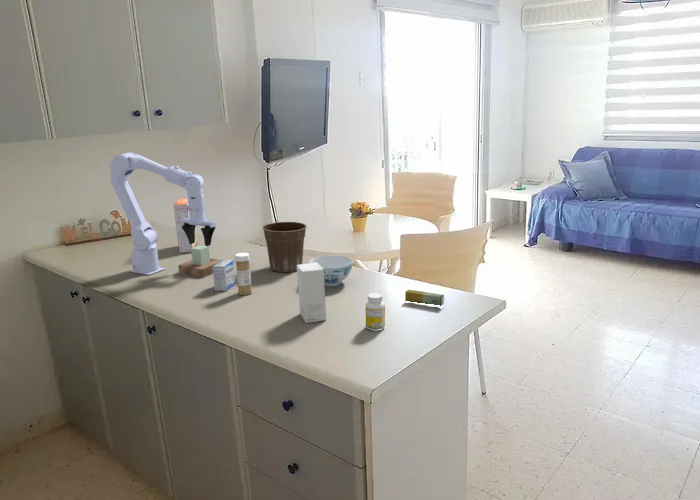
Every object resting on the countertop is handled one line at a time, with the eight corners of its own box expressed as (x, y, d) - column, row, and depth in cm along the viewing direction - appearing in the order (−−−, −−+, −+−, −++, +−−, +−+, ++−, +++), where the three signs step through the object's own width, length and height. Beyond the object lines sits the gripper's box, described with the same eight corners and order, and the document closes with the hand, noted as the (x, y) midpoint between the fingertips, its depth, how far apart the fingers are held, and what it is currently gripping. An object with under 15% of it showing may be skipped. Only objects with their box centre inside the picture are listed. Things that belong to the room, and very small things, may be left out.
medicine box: (226, 291, 189) (224, 266, 187) (214, 290, 190) (212, 266, 188) (235, 283, 197) (234, 259, 194) (223, 283, 197) (221, 259, 195)
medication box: (444, 307, 172) (444, 294, 171) (441, 309, 170) (441, 297, 169) (408, 300, 178) (408, 288, 177) (404, 303, 176) (404, 291, 175)
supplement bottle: (377, 333, 154) (376, 300, 152) (361, 328, 158) (361, 296, 155) (388, 327, 158) (388, 294, 156) (373, 322, 161) (373, 290, 159)
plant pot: (302, 259, 223) (300, 219, 218) (313, 271, 208) (311, 228, 204) (261, 264, 218) (258, 223, 214) (269, 276, 203) (266, 233, 199)
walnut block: (179, 273, 209) (178, 265, 209) (201, 264, 220) (200, 256, 219) (203, 277, 204) (203, 269, 203) (225, 268, 214) (225, 260, 213)
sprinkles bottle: (249, 290, 190) (246, 251, 186) (253, 294, 186) (250, 254, 182) (236, 292, 188) (233, 253, 184) (240, 296, 184) (236, 256, 180)
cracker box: (183, 244, 248) (178, 197, 243) (197, 244, 249) (193, 197, 243) (178, 253, 235) (172, 204, 229) (192, 252, 235) (187, 203, 230)
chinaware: (360, 279, 199) (360, 257, 197) (341, 292, 186) (341, 270, 184) (322, 274, 205) (321, 253, 203) (302, 287, 192) (301, 265, 190)
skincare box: (326, 321, 163) (324, 269, 159) (304, 324, 161) (301, 272, 157) (319, 310, 171) (317, 261, 167) (298, 313, 169) (295, 263, 165)
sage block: (192, 263, 210) (191, 248, 208) (200, 260, 214) (199, 245, 212) (201, 265, 208) (200, 249, 206) (209, 262, 212) (208, 246, 210)
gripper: (173, 208, 205) (177, 244, 209) (204, 212, 199) (207, 249, 202) (187, 205, 211) (191, 240, 215) (217, 208, 205) (220, 244, 208)
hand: (200, 244), depth 209 cm, fingers open, 7 cm apart
